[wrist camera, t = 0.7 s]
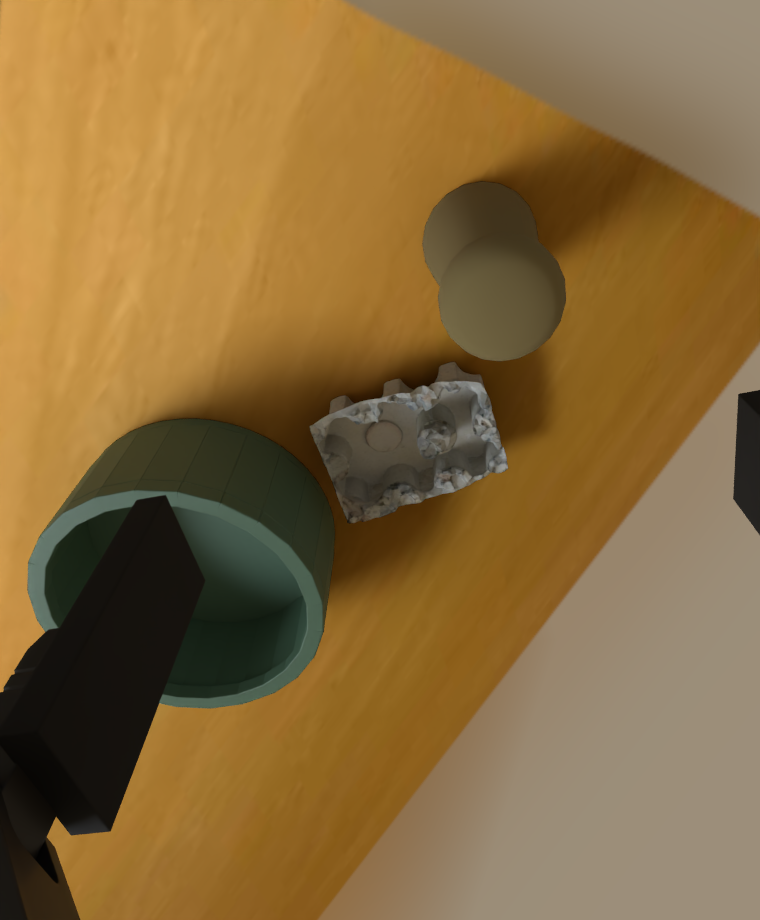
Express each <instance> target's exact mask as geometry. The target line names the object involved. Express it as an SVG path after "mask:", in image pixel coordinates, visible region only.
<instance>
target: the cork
mask: <svg viewBox="0 0 760 920" xmlns="http://www.w3.org/2000/svg"><path fill="white" fill-rule="evenodd" d="M423 250H424V256H425V262H426V264H427V265H428V267H429V269H430V271H431V273H432V275H433V277H434V278H435V280H436V281H437V283H438V285H439V286H440V289H439V295H438V302H439V309H440V315H441V321H442V323H443V325H444V327H445V329H446V330H447V332H448V334H449V336H450V337H451V338H452V339H453V340H454V341H455V342H456V343H457V344H458V345H459V346H460V347H461V348H462V349H463V350H465V351H466V352H468V353H470V354H472V355H474V356H476V357H479V358H481V359H485V360H493V361H506V360H512V359H518V358H520V357H522V356H525V355H527V354H529V353H531V352H533V351H535V350H536V349H538V348H539V347H540V346H541V345H542V344H543V343H544V342H546V341H547V340H548V339H549V338H550V337H551V335H552V334H553V332H554V331H555V329H556V327H557V326H558V324H559V323H560V321H561V317H562V314H563V310H564V306H565V302H566V292H565V279H564V276H563V274H562V271H561V269H560V267H559V264H558V262H557V260H556V259H555V258H554V257H553V256H552V255H551V254H550V252H549V251H548V250H547V249H546V248H545V247H544V246H543V245H542V244H541V243H539V241H538V234H537V227H536V221H535V219H534V217H533V214H532V212H531V210H530V207H529V205H528V204H527V203H526V202H525V201H524V200H523V199H522V198H521V196H520V195H519V194H518V193H517V192H515V191H513V190H512V189H510V188H508V187H506V186H504V185H502V184H499V183H491V182H484V181H481V182H476V183H471V184H466V185H462V186H461V187H459V188H457V189H455V190H454V191H452V192H450V193H448V194H447V195H446V196H445V197H444V198H443V199H442V200H441V201H440V202H439V203H438V204H437V205H436V206H435V207H434V209H433V211H432V213H431V215H430V217H429V219H428V221H427V223H426V225H425V230H424V237H423Z"/></svg>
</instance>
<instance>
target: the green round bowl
mask: <svg viewBox="0 0 760 920" xmlns="http://www.w3.org/2000/svg"><path fill="white" fill-rule="evenodd" d="M161 495H166V496H167V498H168V501H169V503H170V505H171V507H172V509H173V511H174V514H175V516H176V518H177V520H178V522H179V524H180V527H181V529H182V531H183V533H184V535H185V537H186V540H187V542H188V544H189V546H190V548H191V550H192V553H193V555H194V557H195V559H196V561H197V563H198V566H199V568H200V570H201V572H202V574H203V576H204V579H205V584H204V586H203V589H202V591H201V594H200V597H199V599H198V602H197V605H196V607H195V610H194V613H193V615H192V618H191V620H190V623H189V626H188V628H187V631H186V634H185V636H184V639H183V642H182V644H181V647H180V649H179V652H178V655H177V657H176V660H175V663H174V665H173V668H172V671H171V673H170V676H169V678H168V681H167V684H166V686H165V689H164V692H163V694H162V697H161V700H160V702H159V703H161V704H165V705H170V706H175V707H190V708H217V707H225V706H232V705H239V704H244V703H247V702H250V701H253V700H256V699H259V698H261V697H264V696H267V695H270V694H272V693H275V692H276V691H278V690H279V689H281V688H282V687H284V686H285V685H287V684H288V683H290V682H291V681H293V680H294V679H296V678H297V677H298V676H299V675H300V674H301V672H302V671H303V670H304V669H305V668H306V666H307V665H308V664H309V663H310V661H311V660H312V659H313V658H314V656H315V654H316V651H317V649H318V646H319V643H320V640H321V637H322V635H323V632H324V625H325V618H326V610H327V603H328V596H329V588H330V581H331V573H332V566H333V559H334V541H335V529H334V520H333V516H332V512H331V508H330V506H329V503H328V501H327V498H326V496H325V494H324V492H323V491H322V489H321V487H320V486H319V484H318V482H317V481H316V480H315V478H314V477H313V476H312V475H311V473H310V472H309V471H308V470H307V468H306V467H305V466H304V465H303V464H302V463H300V462H299V461H298V460H297V459H296V458H295V457H294V456H293V455H292V454H290V453H289V452H288V451H286V450H285V449H284V448H282V447H281V446H279V445H278V444H276V443H274V442H273V441H271V440H269V439H268V438H266V437H264V436H262V435H259V434H257V433H255V432H253V431H251V430H248V429H245V428H242V427H239V426H236V425H233V424H228V423H224V422H219V421H214V420H204V419H175V420H168V421H161V422H157V423H153V424H150V425H146V426H143V427H141V428H138V429H136V430H134V431H131V432H129V433H128V434H126V435H124V436H123V437H121V438H119V439H118V440H116V441H115V442H114V443H113V444H112V445H110V446H109V447H108V448H107V449H106V450H105V451H104V452H103V453H102V454H101V456H100V457H99V458H98V459H97V460H96V461H95V463H94V464H93V465H92V466H91V467H90V468H89V470H88V471H87V472H86V474H85V475H84V476H83V478H82V479H81V480H80V482H79V483H78V485H77V486H76V487H75V489H74V490H73V491H72V493H71V494H70V495H69V497H68V498H67V499H66V501H65V502H64V504H63V505H62V506H61V508H60V509H59V510H58V512H57V513H56V514H55V516H54V517H53V519H52V520H51V521H50V523H49V524H48V525H47V527H46V528H45V529H44V531H43V532H42V534H41V535H40V537H39V539H38V541H37V544H36V546H35V548H34V550H33V553H32V555H31V557H30V559H29V562H28V594H29V597H30V600H31V603H32V606H33V609H34V612H35V615H36V618H37V621H38V622H39V624H40V625H41V626H42V628H43V629H44V631H45V632H46V631H47V630H48V629H54V628H60V626H61V624H62V623H63V621H64V619H65V618H66V616H67V614H68V613H69V611H70V609H71V608H72V606H73V604H74V603H75V601H76V599H77V598H78V596H79V594H80V593H81V591H82V589H83V588H84V586H85V584H86V583H87V581H88V579H89V578H90V576H91V574H92V573H93V571H94V569H95V568H96V566H97V564H98V563H99V561H100V559H101V558H102V556H103V554H104V553H105V551H106V549H107V548H108V546H109V545H110V543H111V541H112V540H113V538H114V536H115V535H116V533H117V531H118V530H119V528H120V526H121V525H122V523H123V521H124V520H125V518H126V516H127V515H128V513H129V511H130V510H131V508H132V506H133V505H134V503H135V501H136V500H139V499H144V498H150V497H156V496H161Z"/></svg>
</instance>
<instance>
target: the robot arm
mask: <svg viewBox="0 0 760 920" xmlns="http://www.w3.org/2000/svg"><path fill="white" fill-rule="evenodd" d="M733 499H734V500H735V502H736V503H737V504H738V506H739V507H740V509H741V510H742V511H743V513H744V514H745V515H746V517H747V518H748V519H749V521H750V522H751V524H752V525H753V526H754V528H755V529H756V531H757V532H758V533H759V534H760V390H758V391H752V392H747V393H742V394H739V395H738V414H737V434H736V455H735V475H734V496H733ZM204 584H205V579H204V576H203V574H202V572H201V570H200V568H199V566H198V563H197V561H196V559H195V557H194V555H193V553H192V550H191V548H190V546H189V544H188V542H187V540H186V537H185V535H184V533H183V531H182V529H181V527H180V524H179V522H178V520H177V518H176V516H175V514H174V511H173V509H172V507H171V505H170V503H169V501H168V498H167V496H166V495H161V496H156V497H150V498H144V499H139V500H136V501H135V503H134V505H133V506H132V508H131V510H130V511H129V513H128V515H127V516H126V518H125V520H124V521H123V523H122V525H121V526H120V528H119V530H118V531H117V533H116V535H115V536H114V538H113V540H112V541H111V543H110V545H109V546H108V548H107V549H106V551H105V553H104V554H103V556H102V558H101V559H100V561H99V563H98V564H97V566H96V568H95V569H94V571H93V573H92V574H91V576H90V578H89V579H88V581H87V583H86V584H85V586H84V588H83V589H82V591H81V593H80V594H79V596H78V598H77V599H76V601H75V603H74V604H73V606H72V608H71V609H70V611H69V613H68V614H67V616H66V618H65V619H64V621H63V623H62V624H61V626H60V628H54V629H48V630H47V631H46V632H45V633H44V634H43V635H42V636H41V637H40V638H39V639H38V640H37V641H36V642H35V643H34V644H33V645H32V646H31V647H30V648H29V649H28V650H27V651H26V653H25V655H24V656H23V658H22V659H21V661H20V663H19V664H18V666H17V667H16V669H15V670H14V671H15V674H14V675H11V677H10V678H9V680H8V681H7V683H6V685H5V686H4V692H1V693H0V920H80V918H79V915H78V912H77V909H76V906H75V904H74V901H73V898H72V895H71V892H70V889H69V886H68V884H67V881H66V878H65V875H64V872H63V869H62V867H61V864H60V861H59V858H58V855H57V852H56V849H55V847H54V846H53V845H52V843H51V842H50V841H49V840H48V838H47V835H48V833H49V830H50V828H51V826H52V824H53V822H54V819H55V817H57V818H58V819H59V821H60V822H61V823H62V824H63V826H64V827H65V828H66V830H67V831H68V832H69V833H70V835H79V834H89V833H99V832H109V831H111V829H112V826H113V823H114V821H115V818H116V815H117V813H118V810H119V808H120V805H121V802H122V800H123V797H124V794H125V792H126V789H127V787H128V784H129V781H130V779H131V776H132V773H133V771H134V768H135V765H136V763H137V760H138V758H139V755H140V752H141V750H142V747H143V744H144V742H145V739H146V736H147V734H148V731H149V729H150V726H151V723H152V721H153V718H154V715H155V713H156V710H157V707H158V705H159V702H160V700H161V697H162V694H163V692H164V689H165V686H166V684H167V681H168V678H169V676H170V673H171V671H172V668H173V665H174V663H175V660H176V657H177V655H178V652H179V649H180V647H181V644H182V642H183V639H184V636H185V634H186V631H187V628H188V626H189V623H190V620H191V618H192V615H193V613H194V610H195V607H196V605H197V602H198V599H199V597H200V594H201V591H202V589H203V586H204Z"/></svg>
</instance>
